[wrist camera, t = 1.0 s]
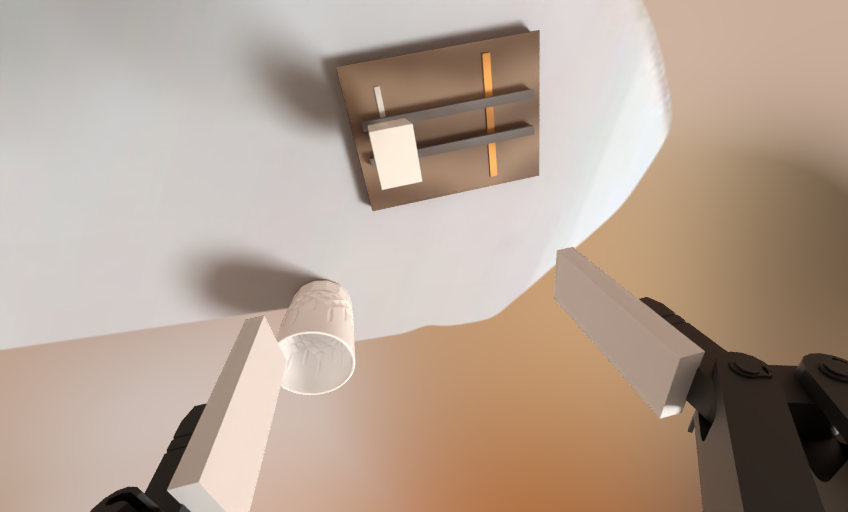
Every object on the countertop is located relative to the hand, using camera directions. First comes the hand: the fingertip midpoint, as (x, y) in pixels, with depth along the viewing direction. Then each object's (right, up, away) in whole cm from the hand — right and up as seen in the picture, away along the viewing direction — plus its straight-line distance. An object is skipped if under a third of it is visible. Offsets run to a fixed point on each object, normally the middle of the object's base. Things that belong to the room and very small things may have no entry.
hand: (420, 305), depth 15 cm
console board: (+2, +15, +18) cm, 24 cm away
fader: (-3, +13, +16) cm, 21 cm away
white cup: (-12, -3, +25) cm, 28 cm away
